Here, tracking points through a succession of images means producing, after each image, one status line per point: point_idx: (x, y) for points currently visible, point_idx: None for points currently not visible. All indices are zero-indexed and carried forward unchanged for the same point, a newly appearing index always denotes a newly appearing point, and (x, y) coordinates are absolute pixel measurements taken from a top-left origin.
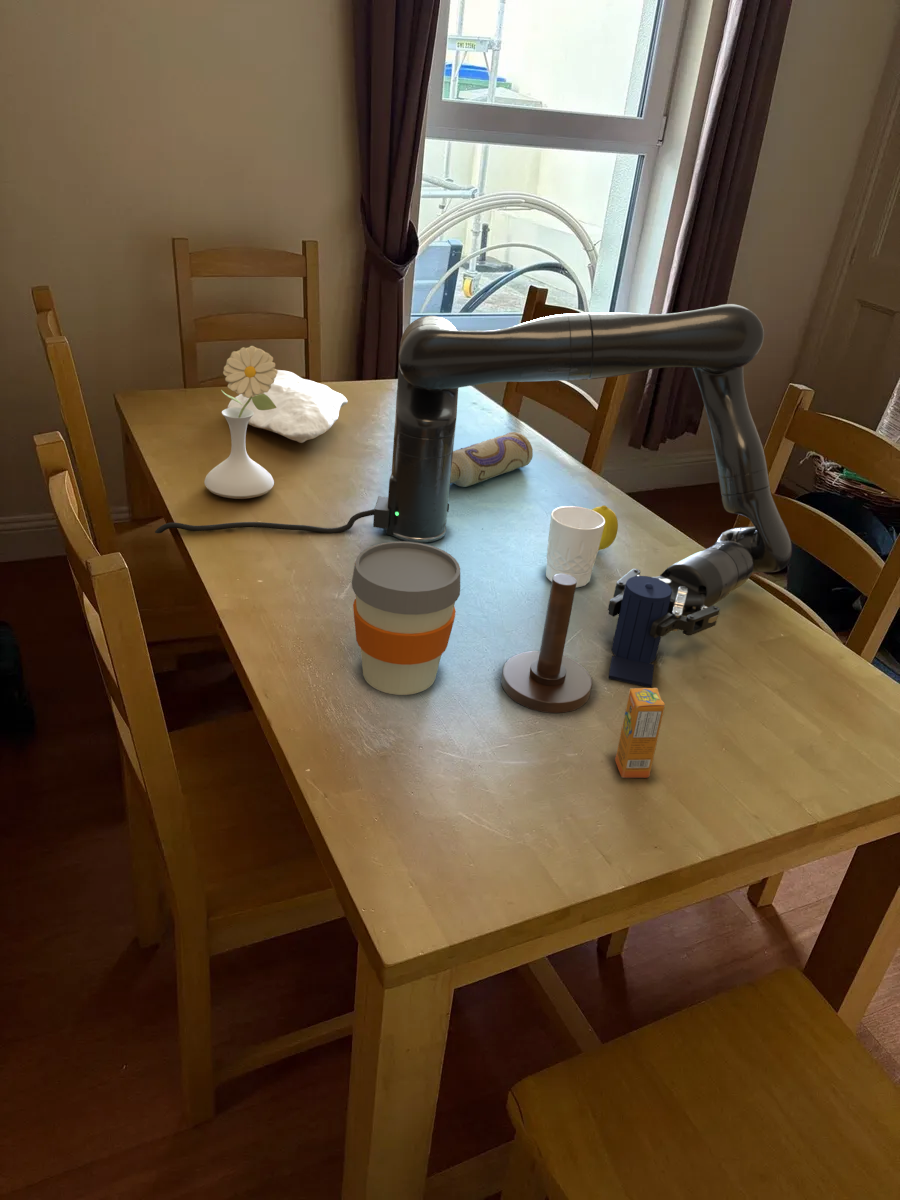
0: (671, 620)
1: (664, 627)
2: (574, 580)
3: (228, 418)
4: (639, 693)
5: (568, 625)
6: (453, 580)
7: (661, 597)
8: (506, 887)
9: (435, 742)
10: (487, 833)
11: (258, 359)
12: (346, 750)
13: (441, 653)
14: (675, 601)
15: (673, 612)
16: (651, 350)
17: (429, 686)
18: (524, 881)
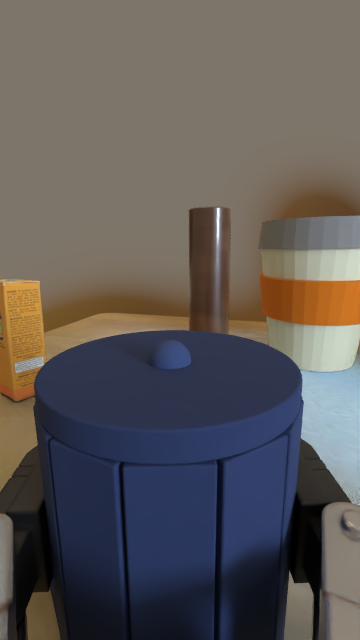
0: (8, 501)
1: (33, 450)
2: (197, 207)
3: None
4: (25, 280)
5: (191, 298)
6: (272, 220)
7: (72, 348)
8: (77, 328)
9: None
10: (109, 334)
11: None
12: (228, 328)
13: (268, 315)
14: (4, 608)
15: (4, 523)
16: None
17: None
18: (69, 331)
